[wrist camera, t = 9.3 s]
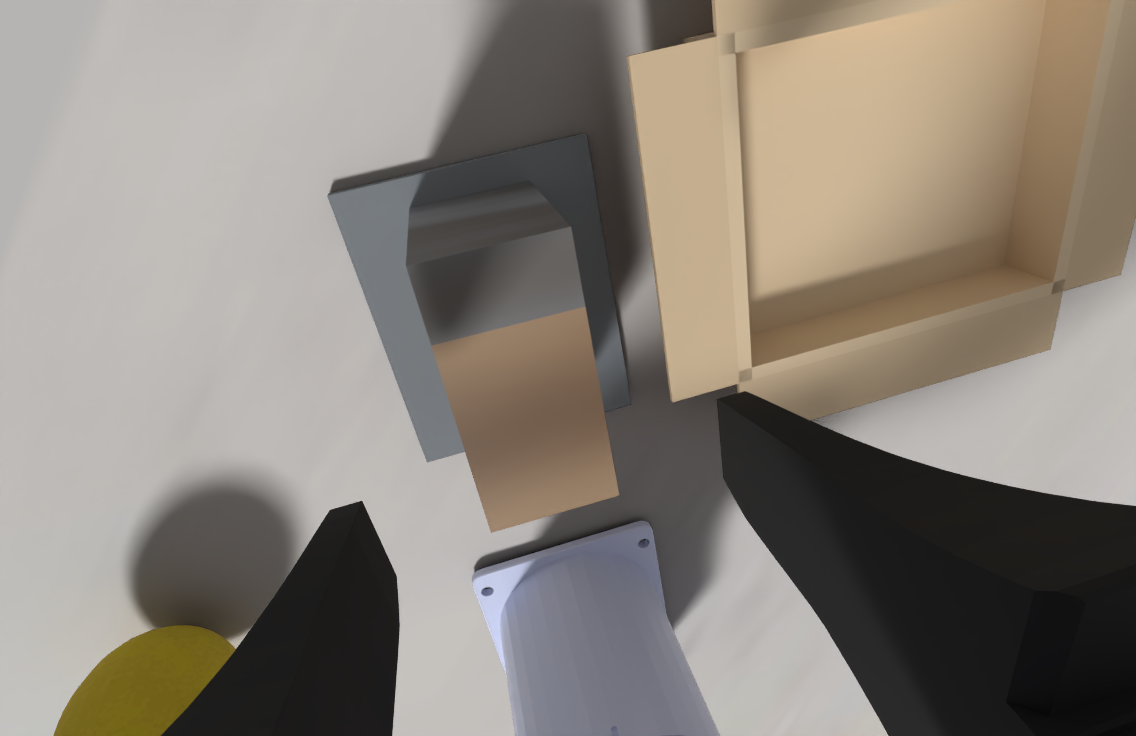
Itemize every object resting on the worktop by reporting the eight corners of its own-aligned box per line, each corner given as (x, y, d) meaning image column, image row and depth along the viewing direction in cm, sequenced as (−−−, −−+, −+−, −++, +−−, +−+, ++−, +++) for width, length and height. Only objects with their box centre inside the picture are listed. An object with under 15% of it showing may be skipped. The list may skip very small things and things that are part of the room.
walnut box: (573, 396, 23) (619, 495, 18) (474, 423, 23) (491, 532, 17) (529, 180, 19) (571, 226, 14) (409, 208, 19) (405, 266, 14)
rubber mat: (628, 399, 24) (631, 404, 24) (427, 456, 23) (426, 462, 23) (583, 133, 19) (586, 134, 19) (328, 193, 19) (327, 195, 18)
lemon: (211, 557, 23) (124, 771, 16) (296, 642, 26) (252, 857, 19) (77, 619, 23) (-69, 860, 16) (176, 698, 26) (87, 933, 19)
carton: (1049, 310, 27) (1105, 333, 25) (656, 423, 25) (679, 459, 23) (1145, -156, 19) (1238, -184, 17) (589, -42, 17) (614, -56, 15)
